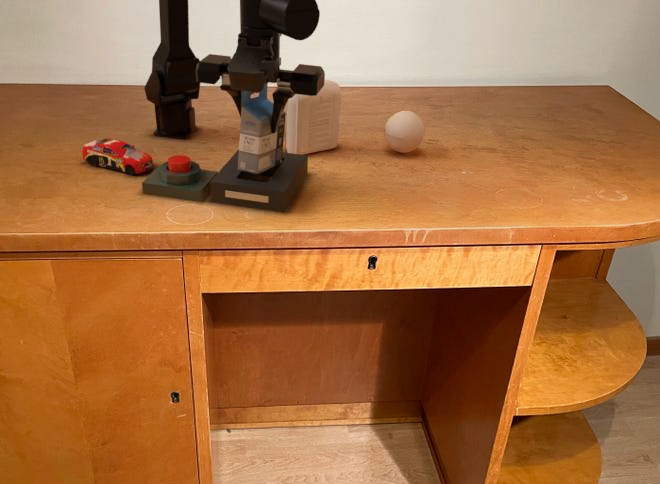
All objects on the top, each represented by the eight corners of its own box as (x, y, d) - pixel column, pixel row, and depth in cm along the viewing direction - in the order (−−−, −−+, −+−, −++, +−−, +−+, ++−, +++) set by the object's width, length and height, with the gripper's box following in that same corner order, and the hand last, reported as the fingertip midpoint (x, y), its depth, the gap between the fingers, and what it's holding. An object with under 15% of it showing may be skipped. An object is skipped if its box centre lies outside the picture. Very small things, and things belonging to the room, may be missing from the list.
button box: (142, 193, 114) (140, 173, 111) (162, 174, 120) (160, 154, 118) (201, 202, 112) (200, 181, 110) (218, 182, 118) (217, 162, 116)
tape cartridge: (258, 175, 110) (263, 93, 104) (236, 170, 112) (240, 88, 105) (282, 163, 118) (289, 85, 111) (261, 159, 119) (266, 81, 112)
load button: (165, 172, 113) (164, 162, 112) (173, 164, 116) (172, 153, 114) (186, 175, 112) (185, 165, 111) (194, 167, 115) (193, 156, 114)
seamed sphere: (413, 142, 135) (418, 104, 130) (427, 157, 129) (433, 117, 125) (363, 145, 133) (367, 106, 128) (375, 161, 127) (380, 120, 123)
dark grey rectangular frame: (210, 202, 112) (209, 182, 110) (241, 166, 124) (240, 146, 121) (283, 213, 110) (283, 192, 107) (307, 174, 121) (308, 155, 119)
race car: (160, 168, 122) (158, 146, 119) (140, 179, 118) (138, 156, 115) (99, 152, 126) (96, 130, 124) (79, 162, 122) (75, 140, 120)
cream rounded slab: (327, 140, 134) (331, 73, 127) (341, 148, 131) (345, 79, 124) (282, 150, 130) (282, 81, 122) (294, 158, 127) (296, 88, 119)
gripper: (177, 30, 97) (185, 141, 106) (309, 44, 93) (305, 157, 103) (206, 13, 105) (211, 117, 115) (328, 25, 102) (322, 131, 112)
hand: (260, 130), depth 111 cm, fingers closed on tape cartridge, 4 cm apart
